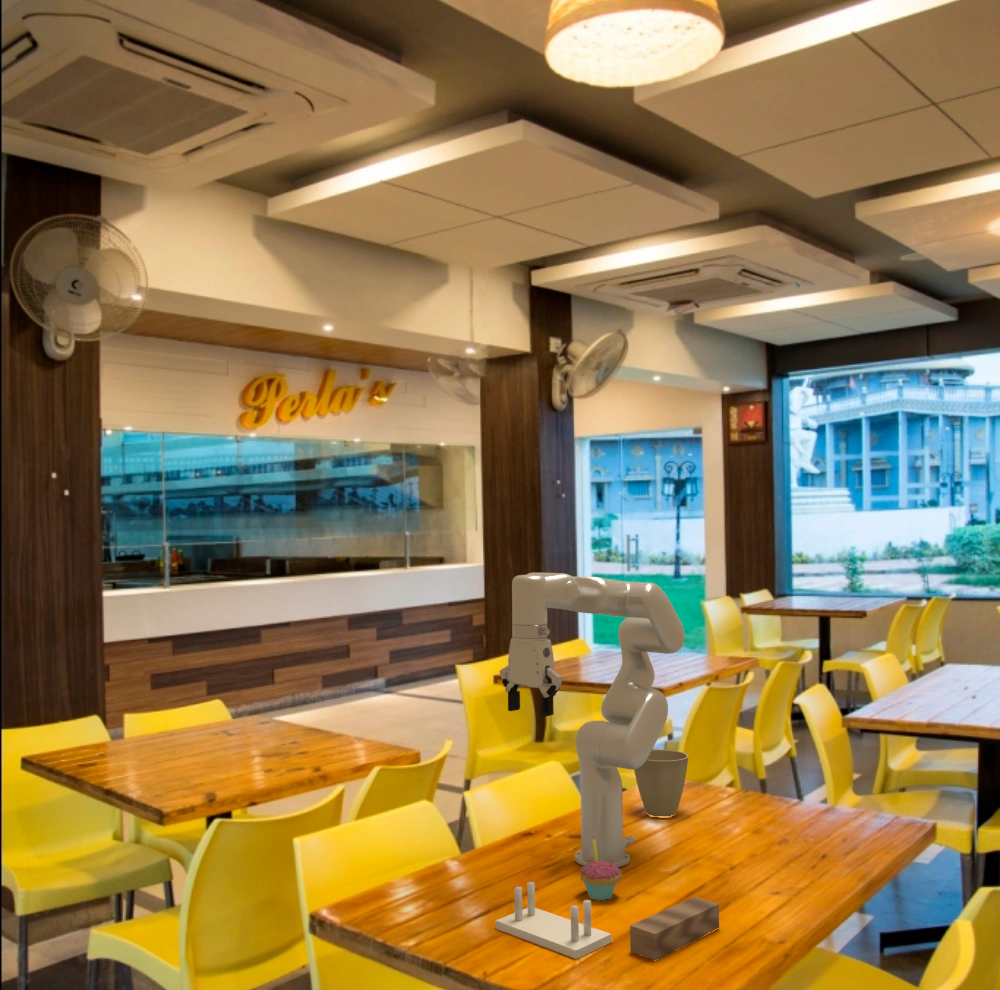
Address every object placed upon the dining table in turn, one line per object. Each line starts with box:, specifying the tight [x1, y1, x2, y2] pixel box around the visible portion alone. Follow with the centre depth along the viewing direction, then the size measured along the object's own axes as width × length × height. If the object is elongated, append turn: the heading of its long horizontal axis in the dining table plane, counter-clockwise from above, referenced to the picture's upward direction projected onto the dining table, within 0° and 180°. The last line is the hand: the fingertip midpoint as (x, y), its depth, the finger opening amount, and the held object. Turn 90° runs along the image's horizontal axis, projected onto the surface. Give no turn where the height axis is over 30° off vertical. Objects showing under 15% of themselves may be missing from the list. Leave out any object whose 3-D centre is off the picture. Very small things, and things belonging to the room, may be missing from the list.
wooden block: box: [629, 896, 720, 961], centre depth 184 cm, size 20×6×5 cm, turn 134°
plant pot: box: [633, 749, 689, 816], centre depth 266 cm, size 15×15×16 cm
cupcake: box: [579, 837, 623, 901], centre depth 206 cm, size 9×8×12 cm
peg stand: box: [495, 881, 612, 960], centre depth 186 cm, size 20×10×8 cm, turn 46°
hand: (530, 712), depth 213 cm, fingers open, 9 cm apart
